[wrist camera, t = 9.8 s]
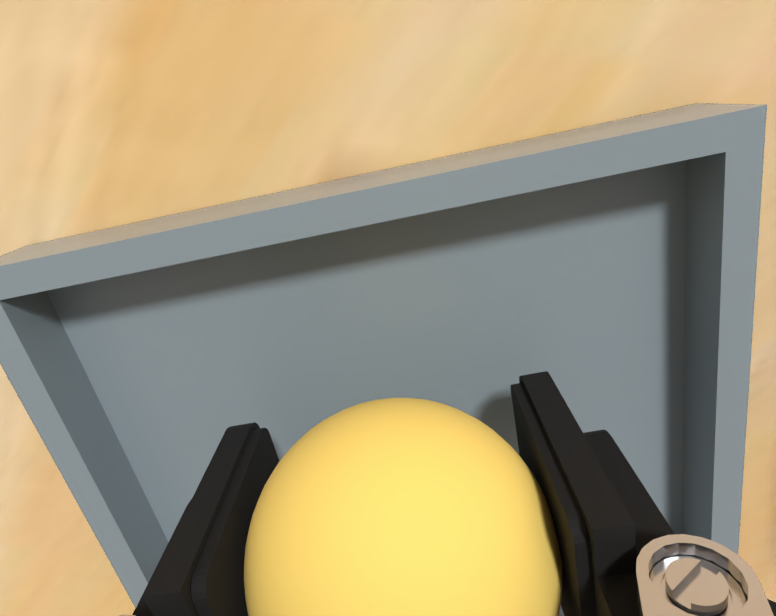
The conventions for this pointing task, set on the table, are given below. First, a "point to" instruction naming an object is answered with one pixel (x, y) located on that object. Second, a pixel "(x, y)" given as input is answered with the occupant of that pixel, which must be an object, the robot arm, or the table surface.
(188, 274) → the tray
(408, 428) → the ball
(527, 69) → the table surface
